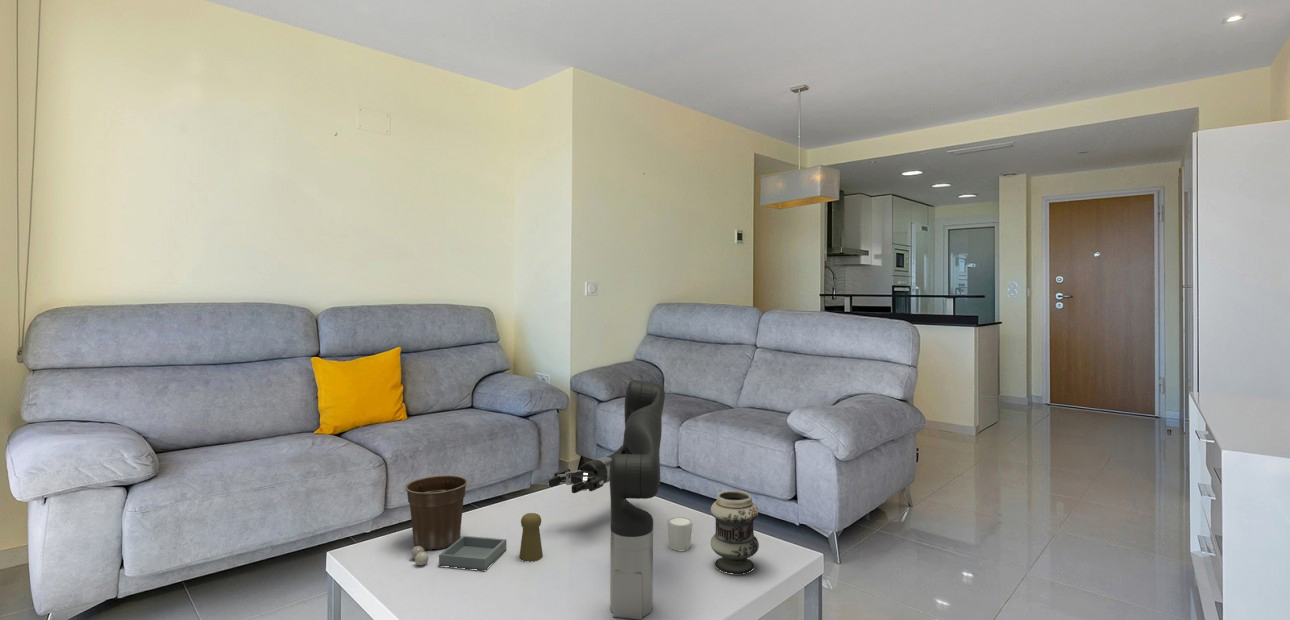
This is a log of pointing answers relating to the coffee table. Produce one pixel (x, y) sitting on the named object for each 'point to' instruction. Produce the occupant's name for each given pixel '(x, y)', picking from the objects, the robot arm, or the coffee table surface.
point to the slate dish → (473, 552)
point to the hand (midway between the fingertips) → (561, 486)
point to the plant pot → (436, 510)
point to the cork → (531, 538)
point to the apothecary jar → (734, 531)
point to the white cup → (679, 533)
